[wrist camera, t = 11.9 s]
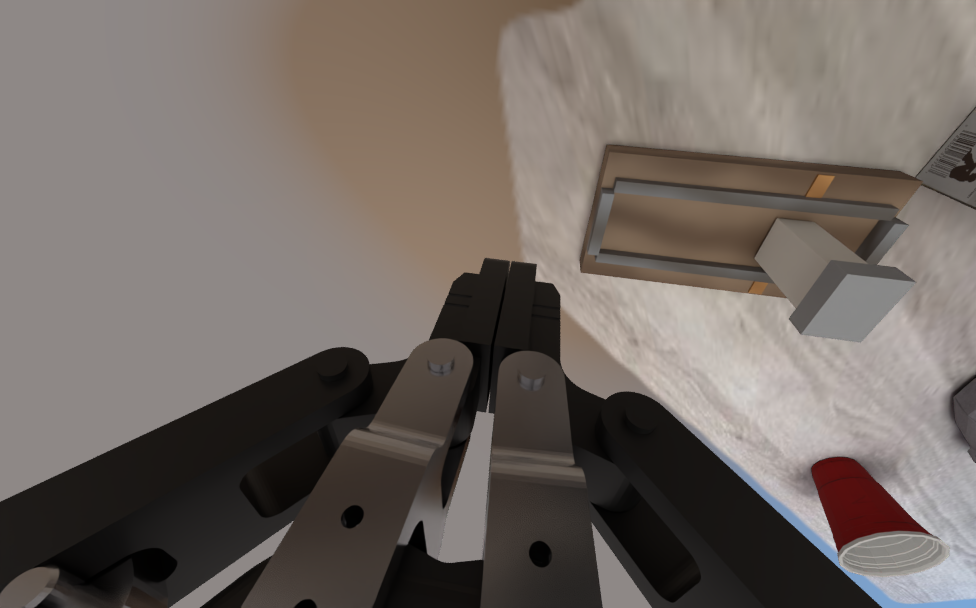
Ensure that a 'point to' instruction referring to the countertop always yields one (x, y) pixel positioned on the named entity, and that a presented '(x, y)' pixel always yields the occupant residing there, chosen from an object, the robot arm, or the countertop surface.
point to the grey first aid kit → (967, 415)
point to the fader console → (729, 214)
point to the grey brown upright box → (955, 165)
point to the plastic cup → (872, 524)
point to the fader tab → (828, 281)
